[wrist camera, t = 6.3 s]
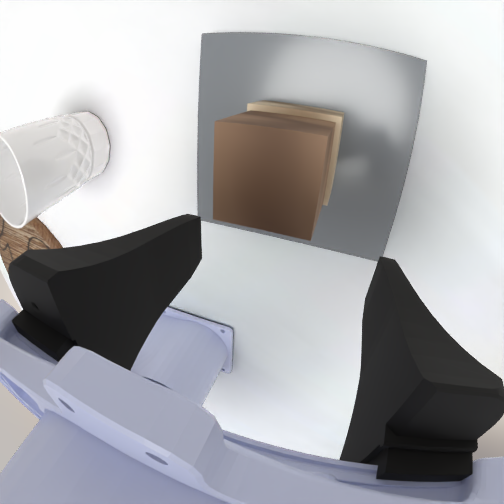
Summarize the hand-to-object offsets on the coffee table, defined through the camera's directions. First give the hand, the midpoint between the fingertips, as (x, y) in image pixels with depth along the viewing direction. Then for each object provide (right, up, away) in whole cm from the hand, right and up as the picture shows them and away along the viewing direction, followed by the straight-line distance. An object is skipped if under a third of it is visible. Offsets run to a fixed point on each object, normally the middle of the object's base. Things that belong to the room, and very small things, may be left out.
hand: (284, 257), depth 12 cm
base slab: (+2, +7, +7) cm, 11 cm away
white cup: (-17, +11, +13) cm, 24 cm away
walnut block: (+1, +5, +4) cm, 7 cm away
